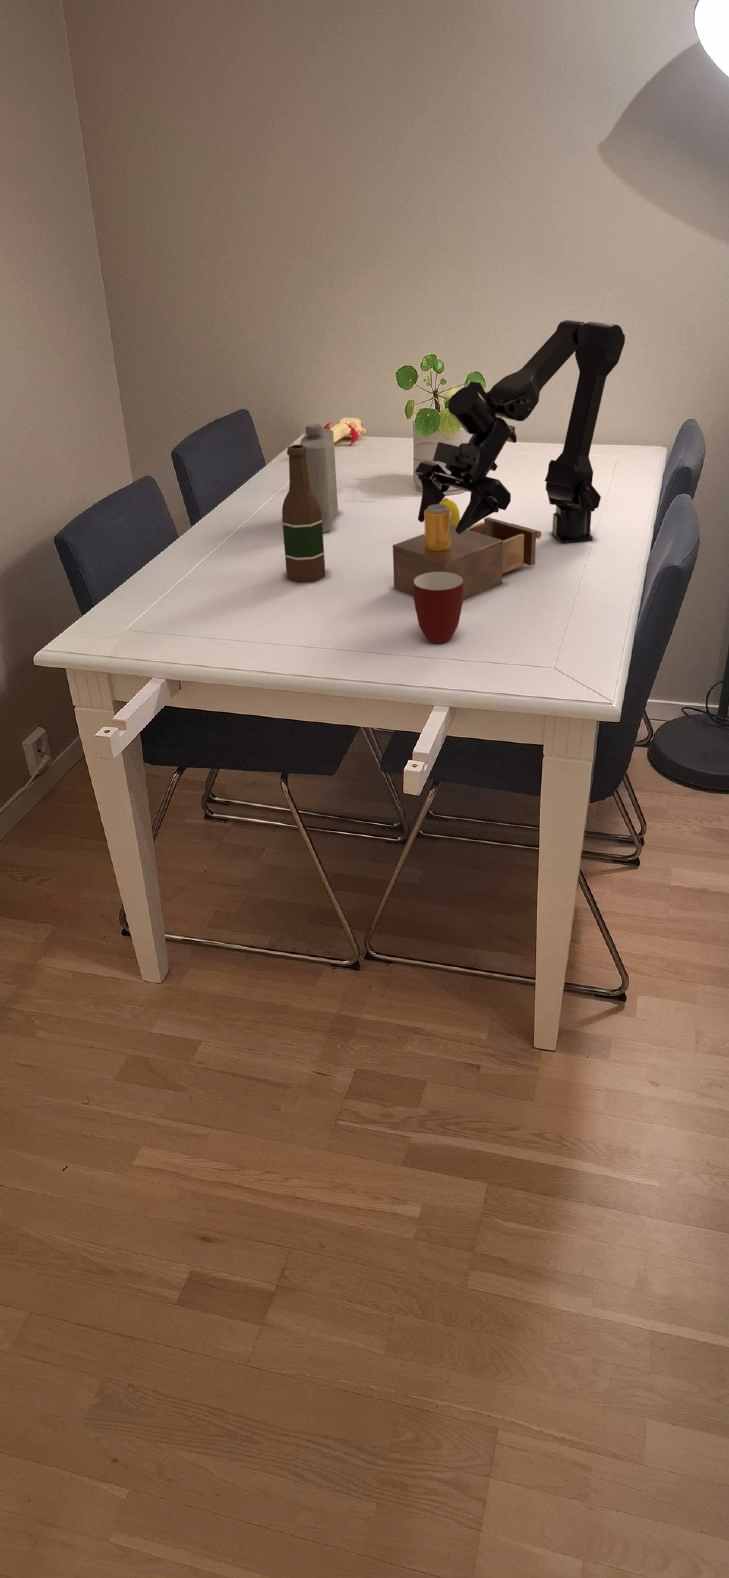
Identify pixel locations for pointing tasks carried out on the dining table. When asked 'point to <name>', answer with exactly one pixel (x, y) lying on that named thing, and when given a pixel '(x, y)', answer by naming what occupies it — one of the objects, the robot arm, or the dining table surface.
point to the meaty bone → (347, 429)
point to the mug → (438, 604)
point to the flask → (322, 470)
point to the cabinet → (451, 561)
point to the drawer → (511, 541)
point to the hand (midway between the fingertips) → (438, 526)
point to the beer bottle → (302, 523)
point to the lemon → (452, 511)
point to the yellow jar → (437, 527)
